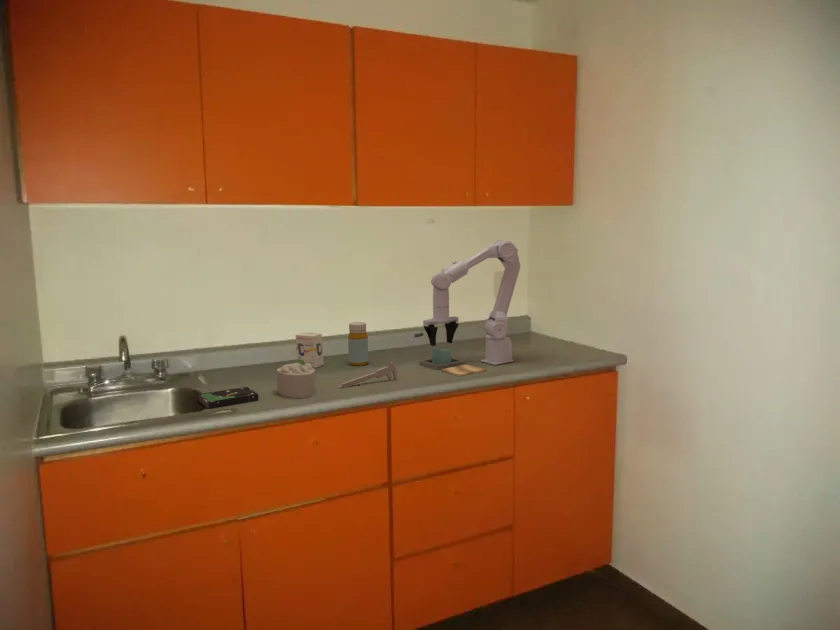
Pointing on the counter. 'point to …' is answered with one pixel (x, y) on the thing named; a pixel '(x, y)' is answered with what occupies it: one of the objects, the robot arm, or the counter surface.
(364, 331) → the bottle
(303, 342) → the ink box
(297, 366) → the cup of cotton balls
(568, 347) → the counter surface
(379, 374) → the caliper
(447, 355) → the block
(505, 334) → the robot arm
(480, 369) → the board
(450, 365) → the grey flat square frame
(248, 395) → the disk drive
